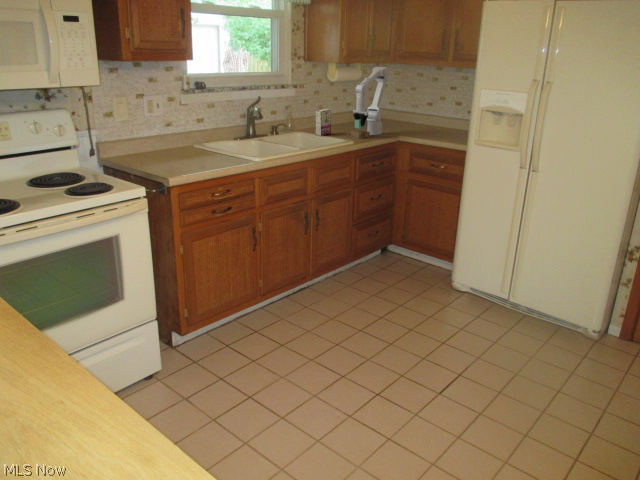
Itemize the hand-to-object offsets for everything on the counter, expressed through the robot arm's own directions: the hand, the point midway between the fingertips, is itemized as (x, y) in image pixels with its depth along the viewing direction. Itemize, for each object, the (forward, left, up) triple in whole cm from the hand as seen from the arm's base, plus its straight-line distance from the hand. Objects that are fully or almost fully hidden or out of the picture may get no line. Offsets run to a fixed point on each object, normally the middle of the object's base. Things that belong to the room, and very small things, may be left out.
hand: (360, 125), depth 346 cm
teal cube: (0, 0, -2) cm, 2 cm away
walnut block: (0, 0, -8) cm, 8 cm away
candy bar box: (+16, -19, -8) cm, 26 cm away
